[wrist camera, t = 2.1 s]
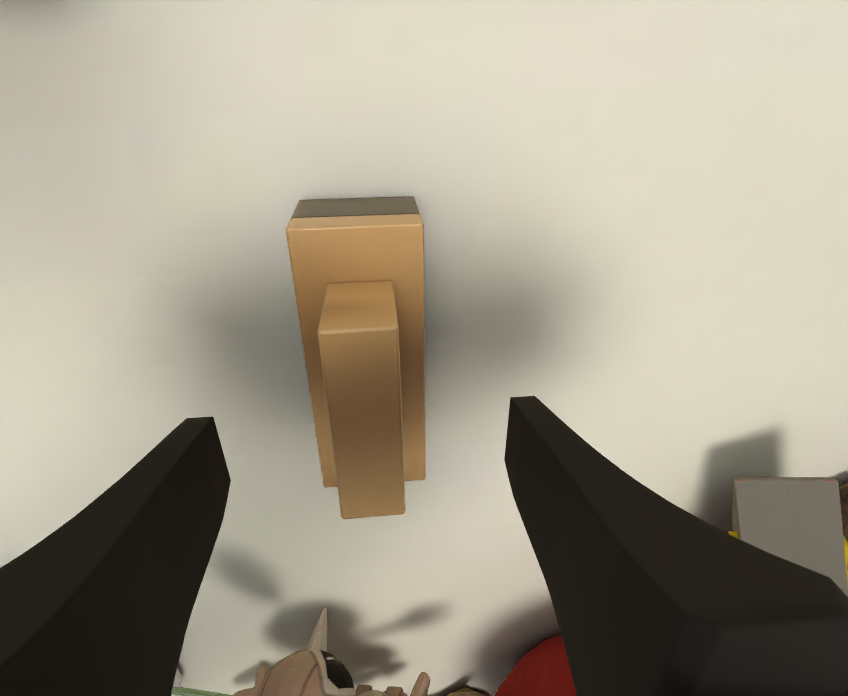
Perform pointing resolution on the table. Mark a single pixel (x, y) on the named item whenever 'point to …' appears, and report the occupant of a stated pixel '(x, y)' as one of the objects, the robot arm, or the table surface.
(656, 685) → the robot arm
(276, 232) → the table surface
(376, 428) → the brush
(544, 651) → the apple
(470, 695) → the driftwood
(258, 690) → the toy
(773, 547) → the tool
